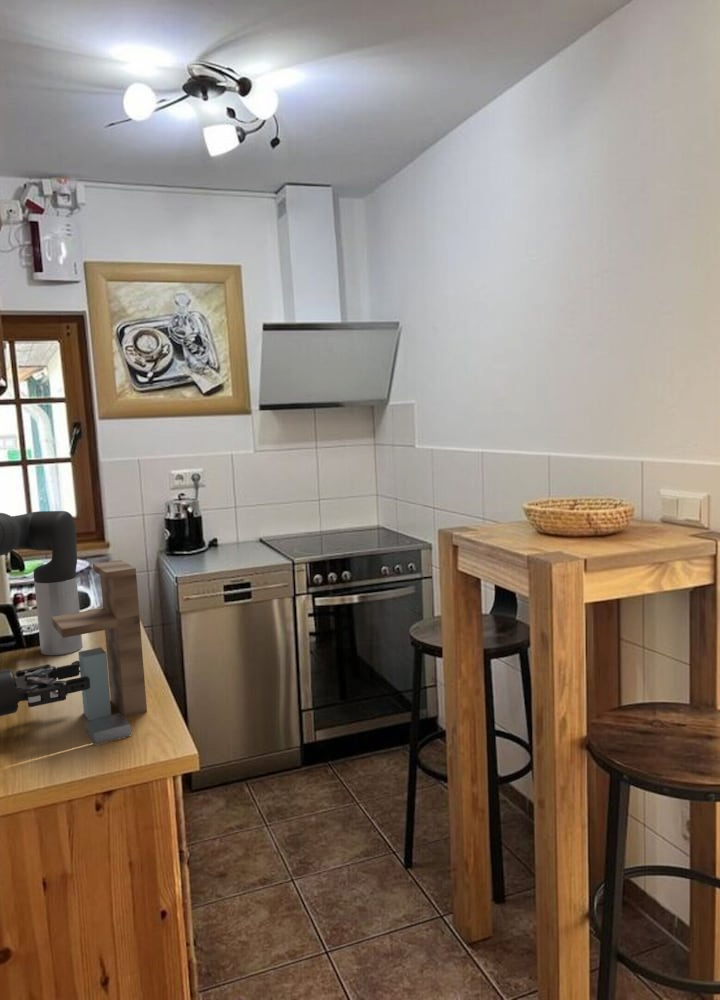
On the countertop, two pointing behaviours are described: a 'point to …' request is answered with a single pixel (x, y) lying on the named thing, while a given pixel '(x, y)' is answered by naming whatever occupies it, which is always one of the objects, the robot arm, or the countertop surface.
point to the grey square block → (108, 728)
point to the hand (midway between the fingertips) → (83, 675)
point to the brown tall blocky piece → (115, 634)
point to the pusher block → (95, 683)
